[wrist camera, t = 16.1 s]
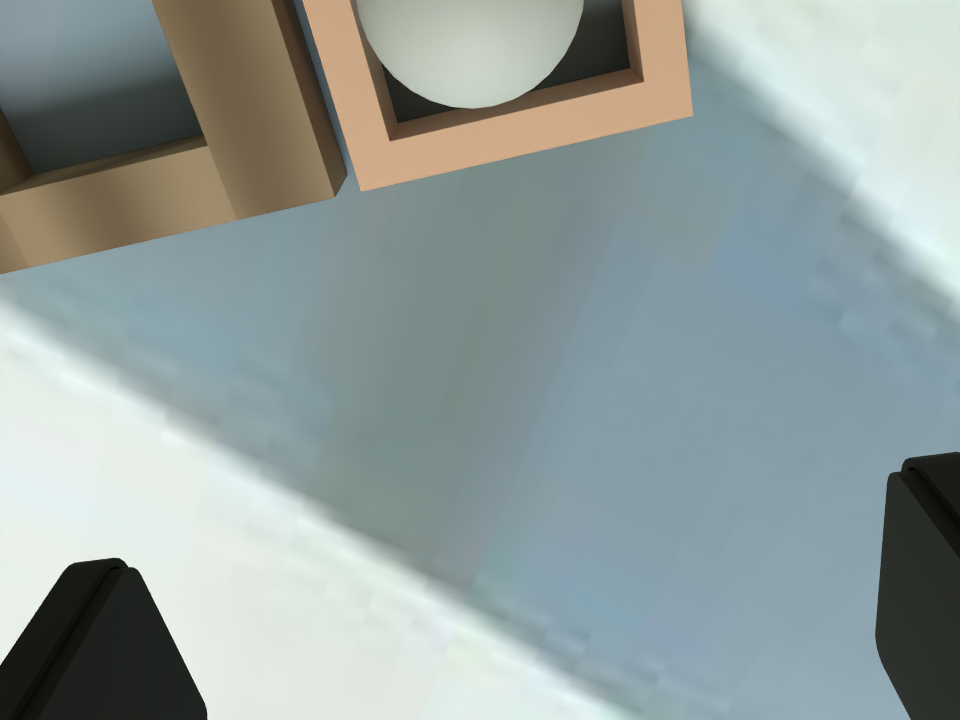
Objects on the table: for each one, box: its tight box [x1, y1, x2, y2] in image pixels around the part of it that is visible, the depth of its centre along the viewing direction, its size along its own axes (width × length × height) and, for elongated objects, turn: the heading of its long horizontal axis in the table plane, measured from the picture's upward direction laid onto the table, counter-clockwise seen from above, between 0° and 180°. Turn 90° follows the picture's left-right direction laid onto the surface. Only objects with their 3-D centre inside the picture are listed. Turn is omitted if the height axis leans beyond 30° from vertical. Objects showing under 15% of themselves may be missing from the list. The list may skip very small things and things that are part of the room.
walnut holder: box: [0, 0, 347, 274], centre depth 28 cm, size 16×14×3 cm
